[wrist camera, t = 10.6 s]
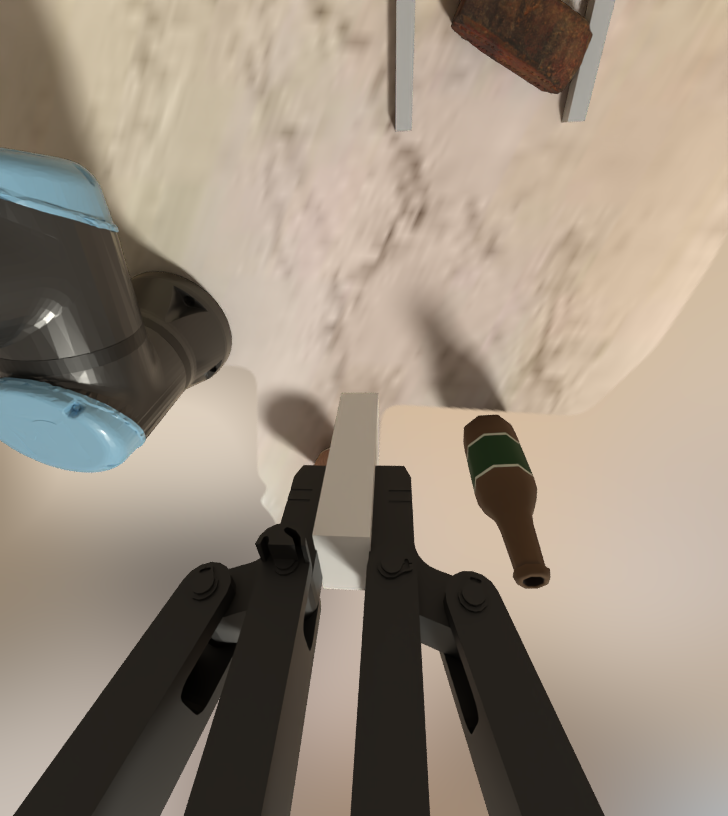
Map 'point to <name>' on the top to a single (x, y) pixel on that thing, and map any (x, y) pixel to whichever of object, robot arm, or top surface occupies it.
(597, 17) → the rails
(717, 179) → the top surface
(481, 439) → the beer bottle
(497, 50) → the brick
